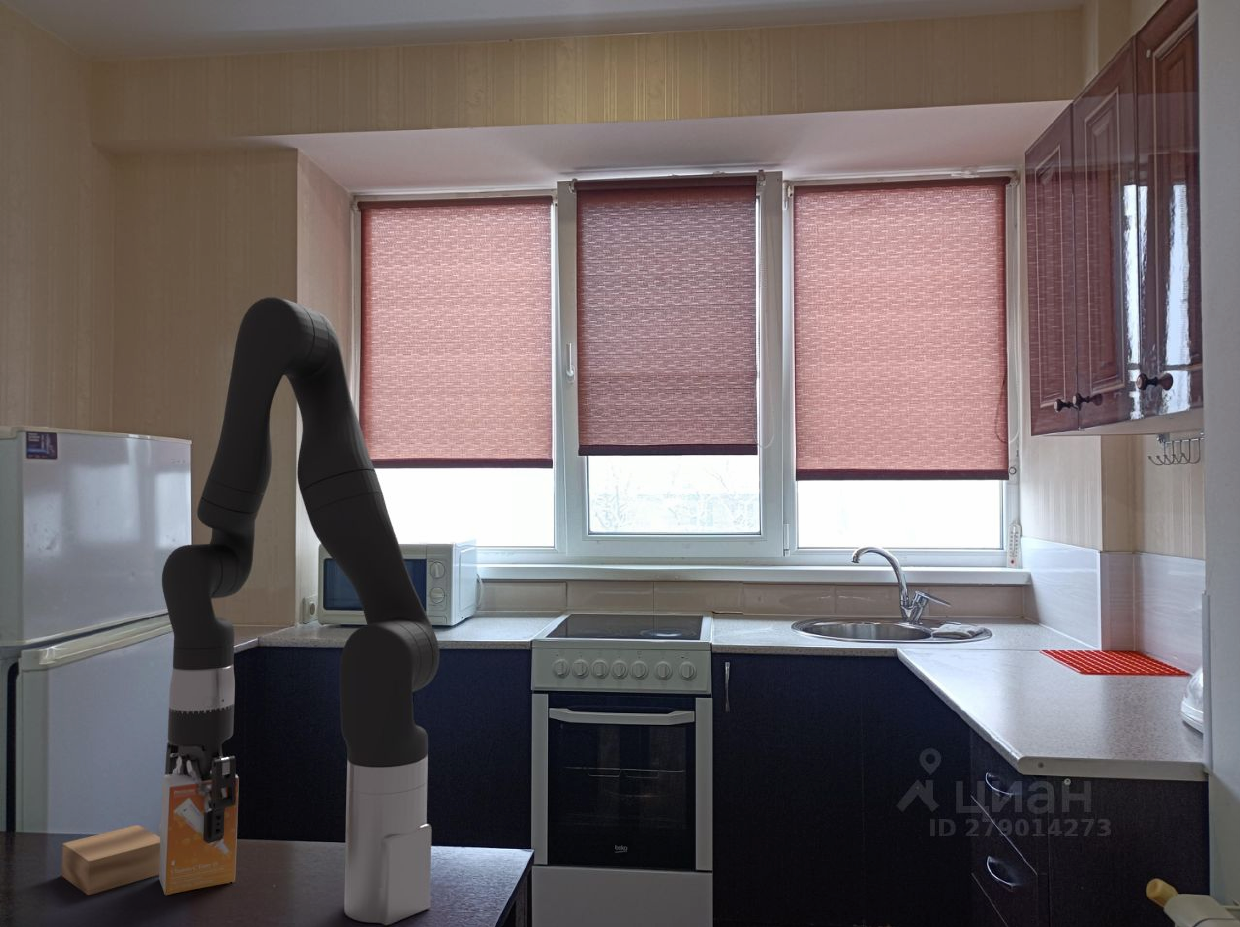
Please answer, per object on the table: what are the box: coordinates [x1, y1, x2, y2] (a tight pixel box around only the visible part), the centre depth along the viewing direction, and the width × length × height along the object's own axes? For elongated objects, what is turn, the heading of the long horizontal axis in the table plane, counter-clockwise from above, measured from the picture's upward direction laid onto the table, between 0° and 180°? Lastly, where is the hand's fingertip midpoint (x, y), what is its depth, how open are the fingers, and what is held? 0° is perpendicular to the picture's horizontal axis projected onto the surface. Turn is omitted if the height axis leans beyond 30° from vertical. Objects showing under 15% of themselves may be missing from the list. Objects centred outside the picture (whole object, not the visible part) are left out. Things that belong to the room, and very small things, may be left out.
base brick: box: [60, 824, 160, 896], centre depth 114 cm, size 9×9×4 cm
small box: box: [158, 774, 240, 896], centre depth 112 cm, size 8×6×13 cm
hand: (197, 832), depth 112 cm, fingers open, 8 cm apart
